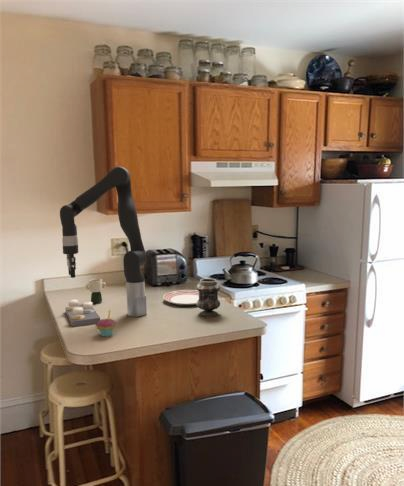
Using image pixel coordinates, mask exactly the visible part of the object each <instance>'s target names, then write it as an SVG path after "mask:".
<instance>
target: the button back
mask: <svg viewBox="0 0 404 486" xmlns="http://www.w3.org/2000/svg"><path fill="white" fill-rule="evenodd" d="M67 303H68V307H75V306H79V300H78V299H77V298H76V299H69V300H68V302H67Z"/></svg>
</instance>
